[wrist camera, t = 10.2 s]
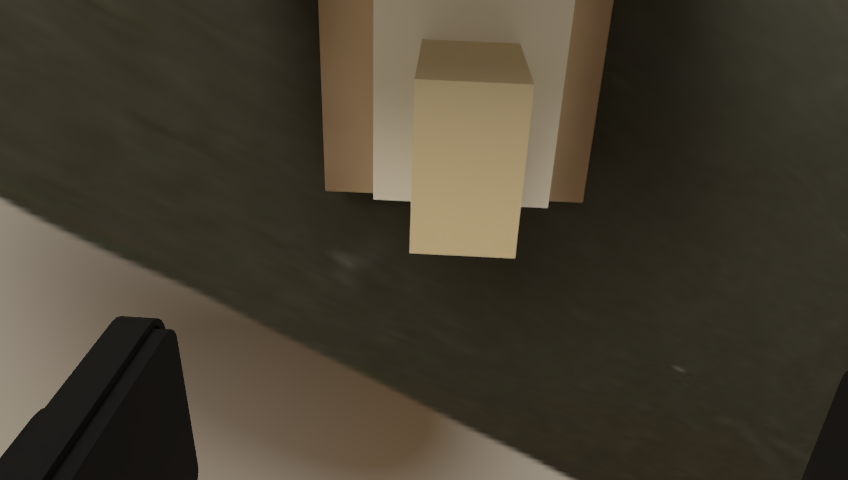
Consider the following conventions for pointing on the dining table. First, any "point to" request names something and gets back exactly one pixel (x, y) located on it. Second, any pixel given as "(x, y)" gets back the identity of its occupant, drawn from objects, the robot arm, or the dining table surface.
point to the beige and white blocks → (467, 116)
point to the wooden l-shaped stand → (353, 95)
